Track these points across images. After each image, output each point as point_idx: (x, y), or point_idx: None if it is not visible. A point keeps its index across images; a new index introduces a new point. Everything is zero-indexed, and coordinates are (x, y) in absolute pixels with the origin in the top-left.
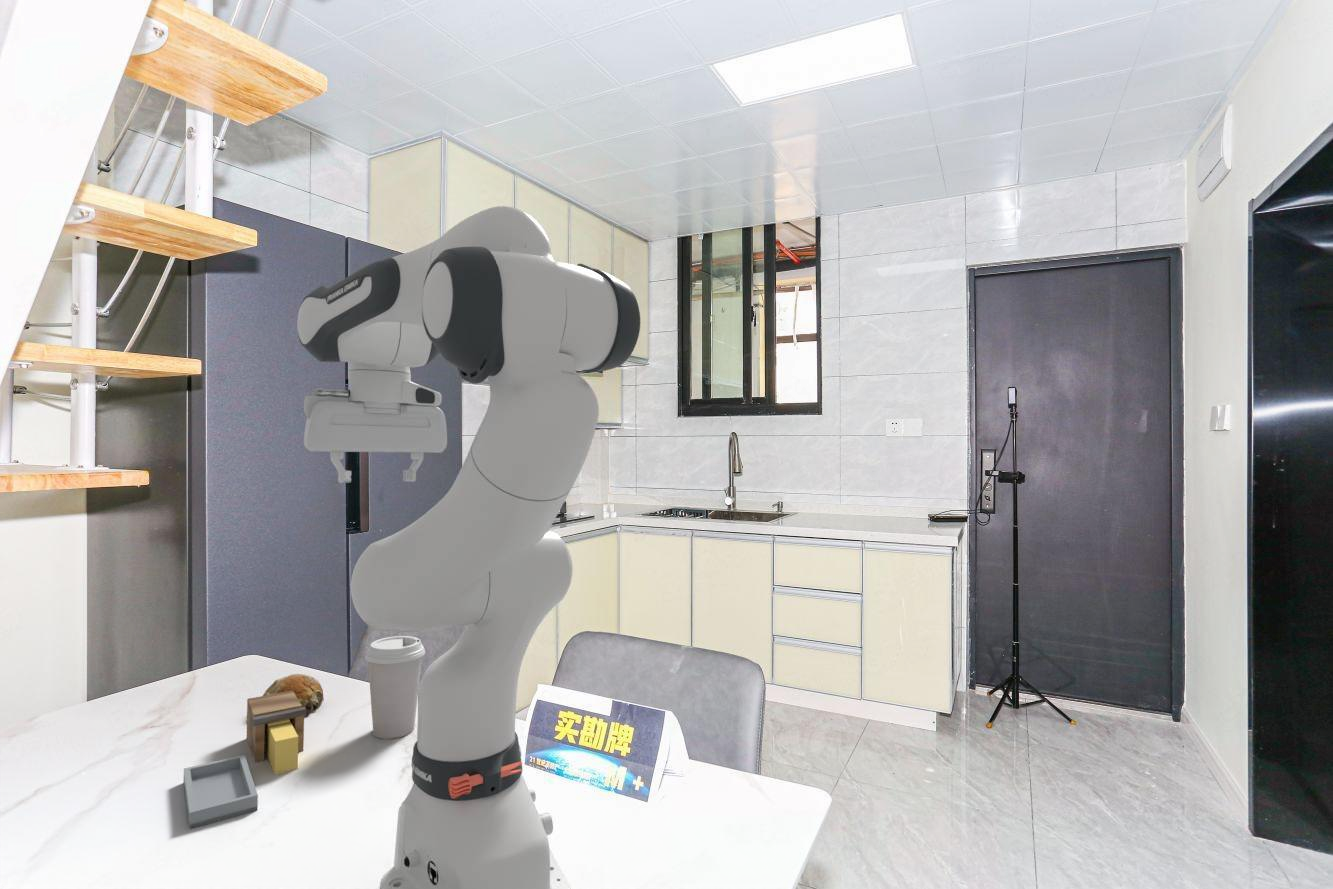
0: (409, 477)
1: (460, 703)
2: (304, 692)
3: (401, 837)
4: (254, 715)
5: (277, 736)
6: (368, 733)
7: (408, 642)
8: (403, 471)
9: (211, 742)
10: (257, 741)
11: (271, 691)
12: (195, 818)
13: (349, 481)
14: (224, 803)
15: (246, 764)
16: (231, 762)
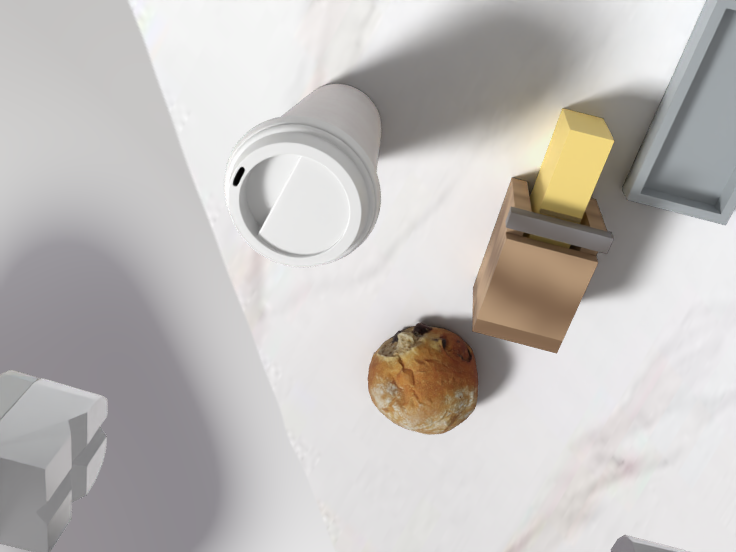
0: (54, 403)
1: None
2: (421, 357)
3: None
4: (597, 261)
5: (597, 162)
6: (383, 154)
7: (249, 217)
8: (55, 536)
9: (596, 336)
10: (598, 214)
11: (465, 401)
12: None
13: (642, 540)
14: None
15: (650, 153)
16: (652, 194)
